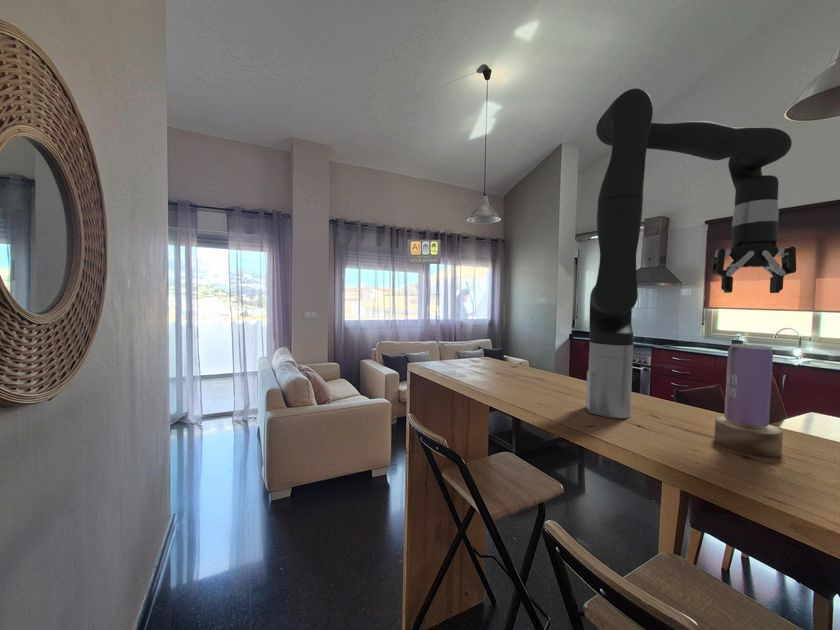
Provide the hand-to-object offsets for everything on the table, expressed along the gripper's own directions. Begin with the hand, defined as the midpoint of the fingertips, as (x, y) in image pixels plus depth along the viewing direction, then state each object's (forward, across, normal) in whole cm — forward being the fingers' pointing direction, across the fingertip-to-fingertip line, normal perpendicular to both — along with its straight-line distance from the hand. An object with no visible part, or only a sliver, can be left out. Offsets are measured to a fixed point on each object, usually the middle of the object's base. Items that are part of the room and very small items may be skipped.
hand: (750, 292), depth 77 cm
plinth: (+30, -9, -20) cm, 37 cm away
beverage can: (+26, -9, -20) cm, 34 cm away
